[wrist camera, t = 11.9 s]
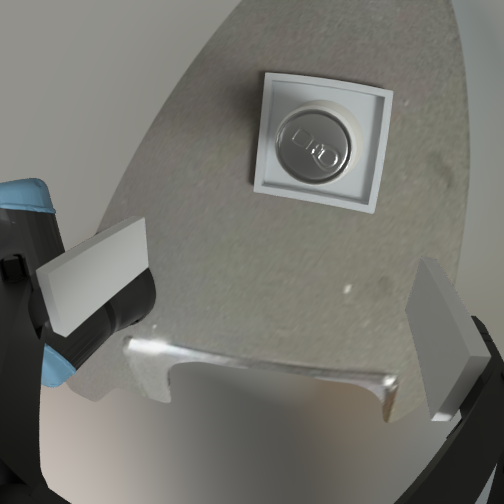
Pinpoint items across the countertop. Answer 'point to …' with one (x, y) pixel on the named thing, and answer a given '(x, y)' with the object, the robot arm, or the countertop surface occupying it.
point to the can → (315, 145)
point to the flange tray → (357, 115)
